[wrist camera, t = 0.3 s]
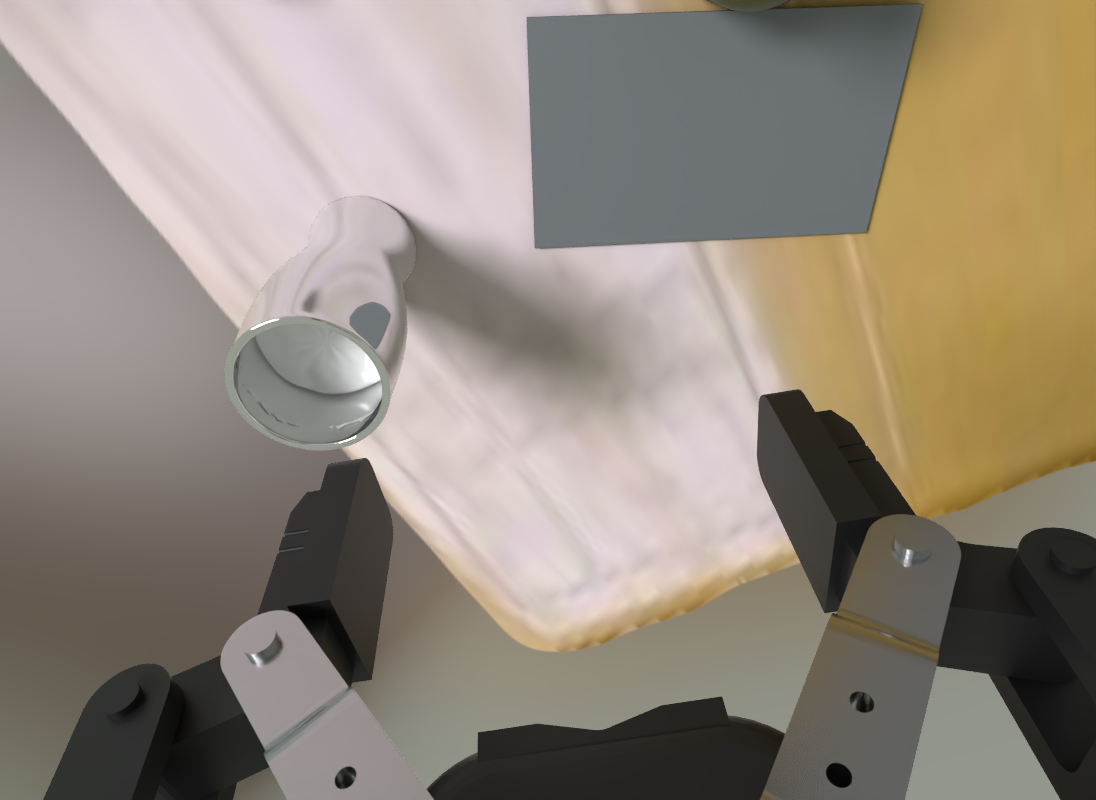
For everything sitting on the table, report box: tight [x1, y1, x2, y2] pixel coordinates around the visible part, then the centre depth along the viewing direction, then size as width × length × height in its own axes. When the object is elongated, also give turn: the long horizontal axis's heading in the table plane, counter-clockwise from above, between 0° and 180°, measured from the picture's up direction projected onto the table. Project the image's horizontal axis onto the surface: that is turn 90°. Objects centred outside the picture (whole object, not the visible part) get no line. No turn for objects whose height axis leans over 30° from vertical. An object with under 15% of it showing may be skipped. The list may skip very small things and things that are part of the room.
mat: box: [527, 4, 923, 248], centre depth 38 cm, size 12×20×1 cm, turn 91°
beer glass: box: [224, 196, 416, 450], centre depth 34 cm, size 7×7×15 cm
